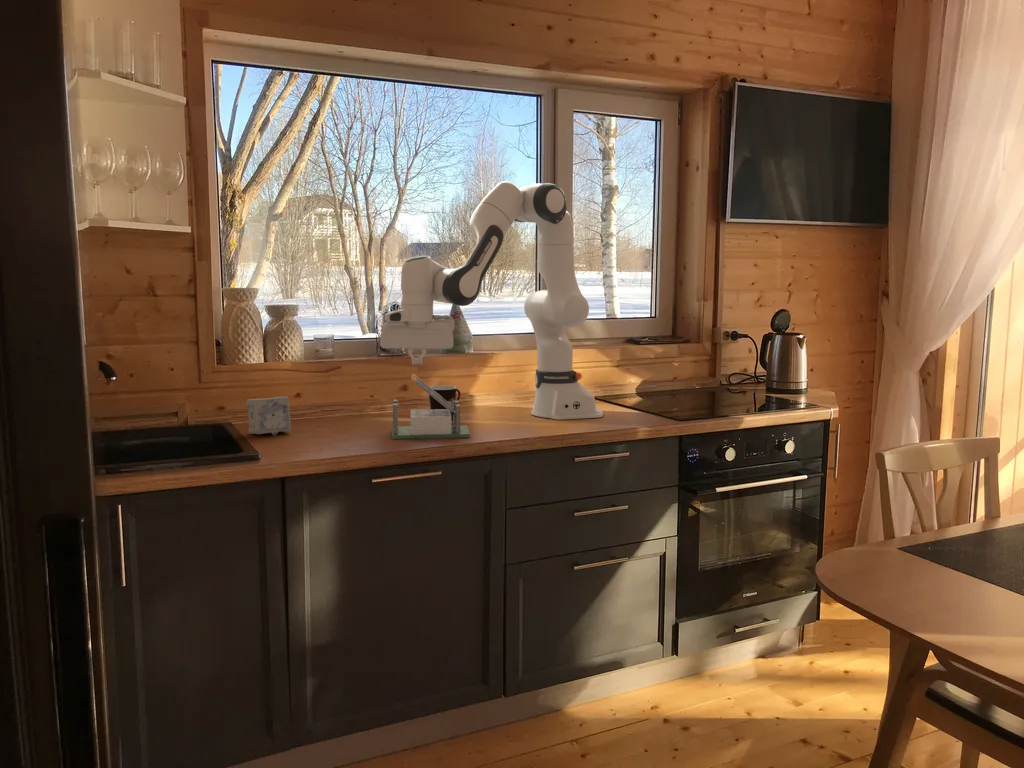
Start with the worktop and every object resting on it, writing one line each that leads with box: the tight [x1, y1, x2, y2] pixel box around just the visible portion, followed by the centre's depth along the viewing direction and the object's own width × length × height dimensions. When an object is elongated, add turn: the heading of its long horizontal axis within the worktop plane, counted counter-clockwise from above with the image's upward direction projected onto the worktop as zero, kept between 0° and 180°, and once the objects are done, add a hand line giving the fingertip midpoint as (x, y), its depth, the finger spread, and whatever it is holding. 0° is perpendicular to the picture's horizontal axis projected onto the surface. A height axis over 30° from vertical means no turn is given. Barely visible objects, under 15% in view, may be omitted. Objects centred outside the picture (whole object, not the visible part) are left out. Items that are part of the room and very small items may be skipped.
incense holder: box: [245, 396, 292, 436], centre depth 224 cm, size 10×8×10 cm
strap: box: [410, 376, 453, 412], centre depth 222 cm, size 14×3×1 cm
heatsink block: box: [391, 399, 471, 440], centre depth 226 cm, size 21×12×9 cm, turn 97°
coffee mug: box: [428, 384, 461, 422], centre depth 246 cm, size 12×9×10 cm
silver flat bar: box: [411, 373, 452, 407], centre depth 228 cm, size 14×3×1 cm
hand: (417, 364), depth 226 cm, fingers closed
